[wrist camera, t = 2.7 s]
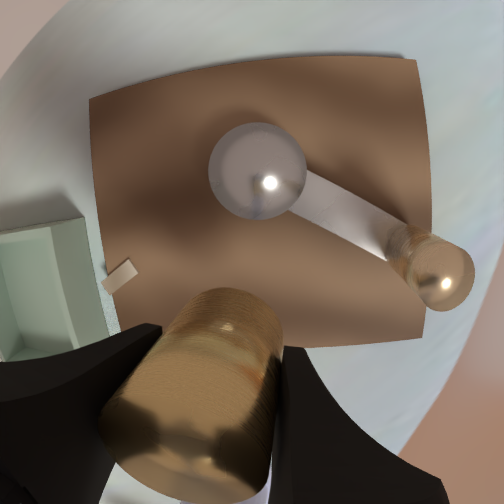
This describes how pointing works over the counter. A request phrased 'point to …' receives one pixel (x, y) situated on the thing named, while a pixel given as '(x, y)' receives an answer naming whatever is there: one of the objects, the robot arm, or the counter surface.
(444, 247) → the crank
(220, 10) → the counter surface
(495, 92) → the counter surface
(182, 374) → the pin
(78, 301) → the tray
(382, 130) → the crank base
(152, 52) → the counter surface
